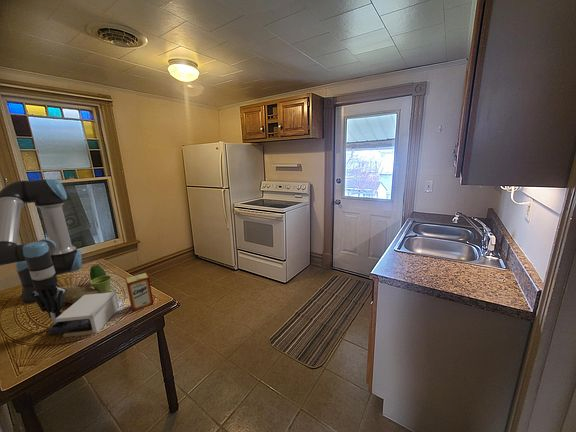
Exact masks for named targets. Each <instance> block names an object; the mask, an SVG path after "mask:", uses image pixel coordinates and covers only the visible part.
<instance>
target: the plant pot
mask: <svg viewBox="0 0 576 432" xmlns="http://www.w3.org/2000/svg"><path fill="white" fill-rule="evenodd" d="M111 279H112V276H111V275H106V276H101V277H98V278H95V279H93V280H91V281H90V284H91V285H92V286H93V289H96V290H97V291H98V292H99V293H98V294H100V293H110V292H111V291H112V287H111V281H112V280H111Z"/></svg>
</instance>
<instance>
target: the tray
mask: <svg viewBox="0 0 576 432" xmlns="http://www.w3.org/2000/svg"><path fill="white" fill-rule="evenodd" d="M90 330H93V329H92V326H91V322H90V319H80V320H71V321H61V322H56V323H55V324H54V325H53V324H52V325H51V326H50V327H49V328H48V333H49V335H50V336H55V335H63V334H64V333H71V332H80V331H90Z"/></svg>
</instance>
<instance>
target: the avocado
mask: <svg viewBox="0 0 576 432" xmlns="http://www.w3.org/2000/svg"><path fill="white" fill-rule="evenodd" d="M106 272H107V271H105V269H104V268H103V267H102V266H101V265H99V264H93V265H92V266H91V267H90V270H89V278H90V280H91V281H92V280H93V279H95V278H98V277H101V276H107V273H106Z"/></svg>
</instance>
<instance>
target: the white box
mask: <svg viewBox="0 0 576 432" xmlns="http://www.w3.org/2000/svg"><path fill="white" fill-rule="evenodd" d="M119 308H120V305H119V300H118V295H117V292H116V291H113V292H110V293H100V294H89V295H84V296H82V297H81V298H80V299H79V300H78V301H76V302H75V303H72V305H70V306H69V307H68V308H67V309H65V310H64V311H63V312H61V315H60V316H58V317H57V318H56V322H61V321H71V320H80V319H90V322H91V326H92V329H91V330H90V331H80V332H71V333H64V334H62V336H63V338H68V337H78V336H79V337H80V336H86V335H93V334H98V333H99V332H100V331H101V330H102V328H103V327H104V325H105V324H106V323H107V322H108V321H109V320H110V319H111V318H112V317H113V315H114V314H115V313H116V312H117V311H118V310H119Z"/></svg>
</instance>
